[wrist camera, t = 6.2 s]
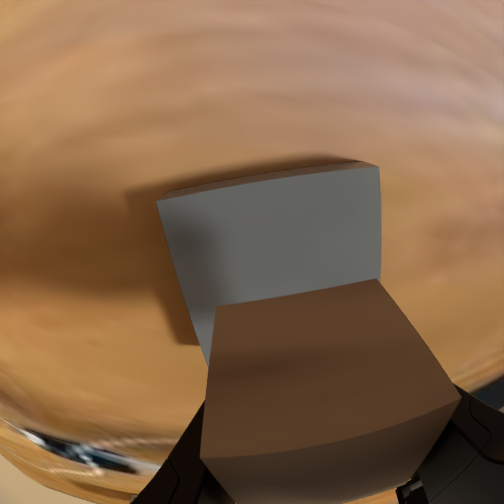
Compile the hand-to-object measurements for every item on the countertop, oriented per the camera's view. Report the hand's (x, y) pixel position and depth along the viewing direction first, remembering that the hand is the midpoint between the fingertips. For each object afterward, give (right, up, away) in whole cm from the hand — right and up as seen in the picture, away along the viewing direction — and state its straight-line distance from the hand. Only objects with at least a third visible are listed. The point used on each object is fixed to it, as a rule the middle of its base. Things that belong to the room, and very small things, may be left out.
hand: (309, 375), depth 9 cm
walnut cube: (0, 0, +1) cm, 1 cm away
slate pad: (0, +3, +7) cm, 8 cm away
